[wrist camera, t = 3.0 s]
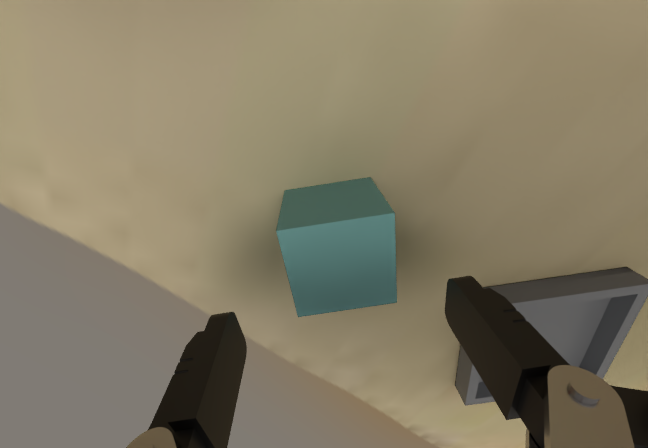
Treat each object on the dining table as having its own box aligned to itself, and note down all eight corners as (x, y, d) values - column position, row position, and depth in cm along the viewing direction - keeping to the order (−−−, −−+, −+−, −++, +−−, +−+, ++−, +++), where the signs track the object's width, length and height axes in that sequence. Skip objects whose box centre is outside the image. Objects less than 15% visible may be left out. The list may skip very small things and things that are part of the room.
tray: (626, 267, 20) (655, 283, 18) (579, 367, 25) (598, 387, 24) (468, 289, 20) (482, 307, 18) (455, 385, 25) (465, 405, 24)
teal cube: (369, 176, 16) (394, 212, 11) (374, 248, 18) (396, 302, 14) (284, 189, 16) (276, 230, 11) (300, 260, 18) (298, 317, 14)
